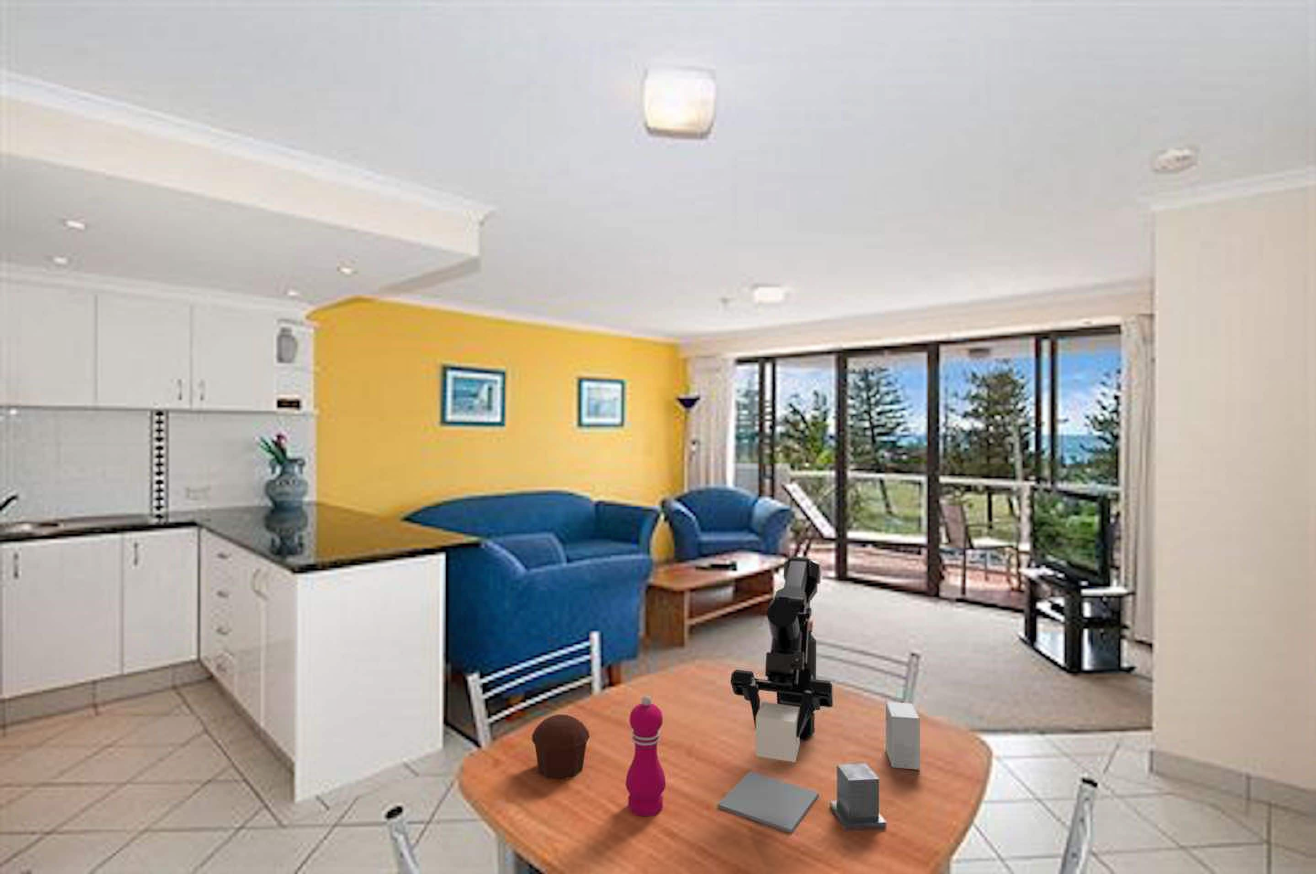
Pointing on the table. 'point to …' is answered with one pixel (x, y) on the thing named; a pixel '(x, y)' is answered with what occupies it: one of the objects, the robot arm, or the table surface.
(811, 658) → the bottle
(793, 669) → the robot arm
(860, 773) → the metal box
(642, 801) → the pepper mill
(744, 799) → the mat
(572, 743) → the muffin
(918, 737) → the small box
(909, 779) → the table surface
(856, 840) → the table surface
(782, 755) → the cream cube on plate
